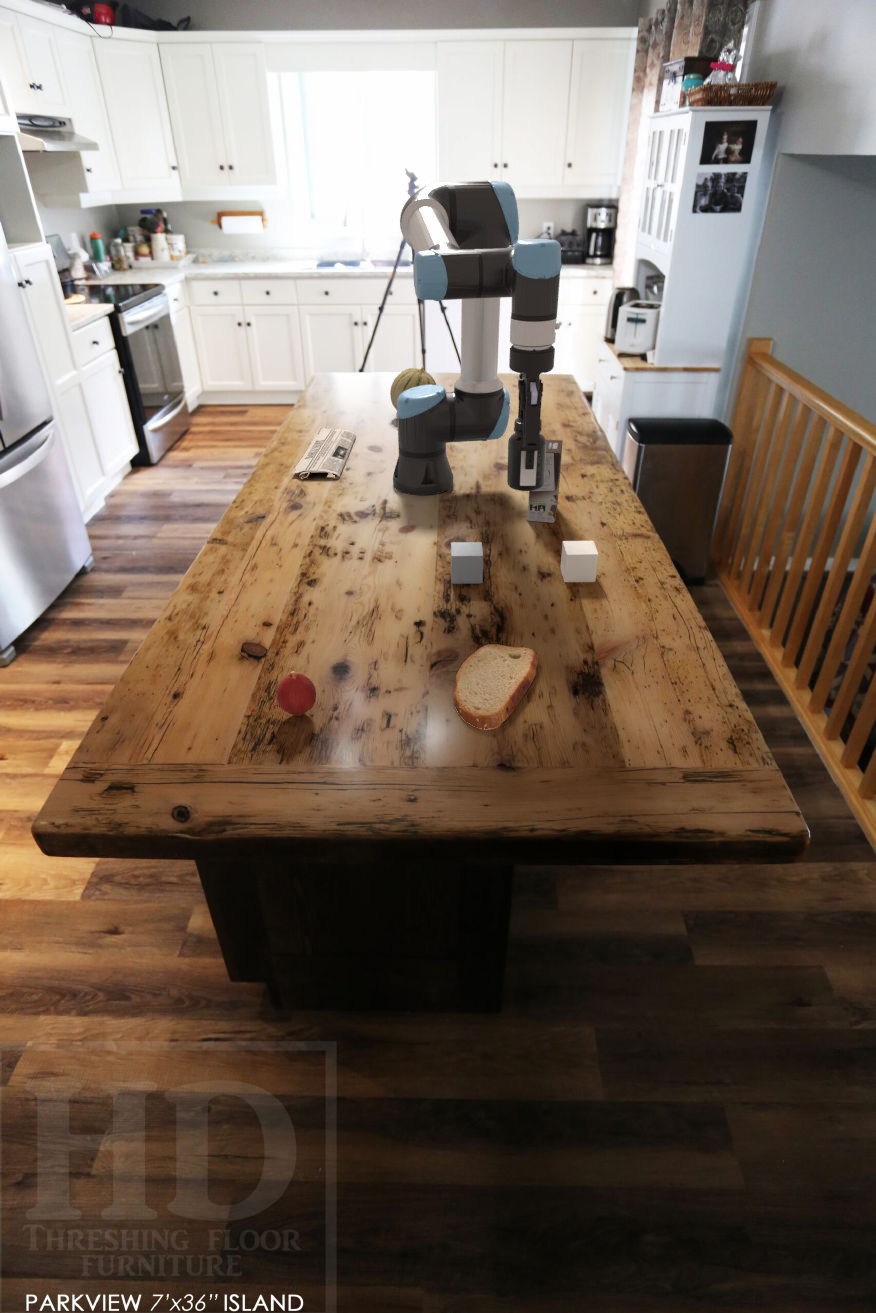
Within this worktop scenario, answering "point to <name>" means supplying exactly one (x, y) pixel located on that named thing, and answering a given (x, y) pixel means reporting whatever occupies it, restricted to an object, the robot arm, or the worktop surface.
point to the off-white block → (579, 561)
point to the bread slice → (493, 683)
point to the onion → (296, 694)
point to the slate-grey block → (466, 562)
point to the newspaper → (327, 452)
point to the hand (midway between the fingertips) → (525, 477)
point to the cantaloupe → (409, 382)
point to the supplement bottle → (515, 459)
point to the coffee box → (547, 486)
